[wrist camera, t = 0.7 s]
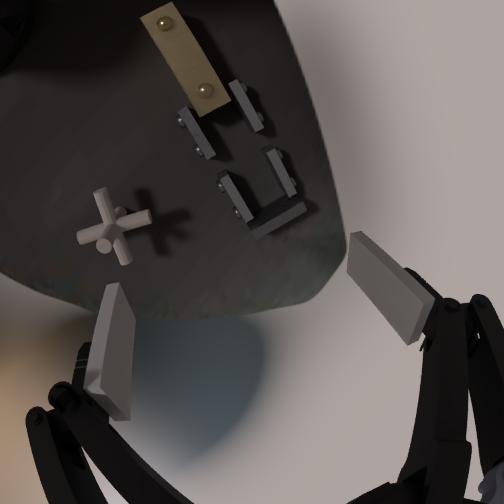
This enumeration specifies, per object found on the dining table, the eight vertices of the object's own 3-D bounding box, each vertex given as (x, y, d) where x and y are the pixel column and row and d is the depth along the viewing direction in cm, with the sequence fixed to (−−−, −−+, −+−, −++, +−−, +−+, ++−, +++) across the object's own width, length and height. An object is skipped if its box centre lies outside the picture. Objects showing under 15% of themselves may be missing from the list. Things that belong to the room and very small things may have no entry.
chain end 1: (213, 176, 37) (216, 185, 33) (271, 142, 36) (282, 147, 32) (245, 228, 42) (252, 242, 38) (298, 197, 41) (311, 208, 37)
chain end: (174, 114, 32) (173, 114, 29) (237, 79, 31) (241, 76, 28) (201, 157, 35) (203, 162, 33) (261, 124, 35) (268, 125, 32)
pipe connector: (143, 168, 34) (130, 189, 26) (163, 234, 39) (159, 272, 31) (78, 190, 33) (50, 218, 24) (102, 252, 38) (85, 292, 30)
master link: (144, 27, 25) (139, 16, 20) (172, 13, 25) (171, -1, 20) (198, 116, 33) (200, 117, 28) (225, 101, 32) (232, 100, 28)
